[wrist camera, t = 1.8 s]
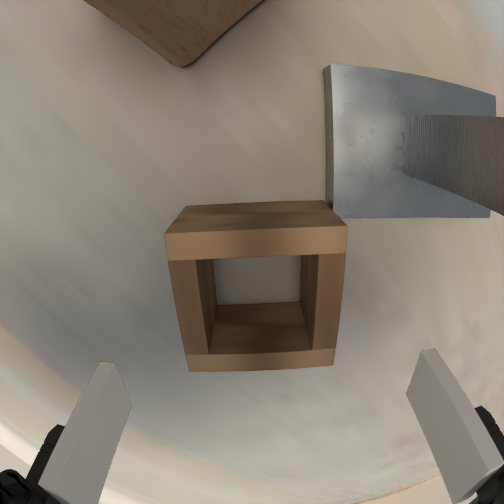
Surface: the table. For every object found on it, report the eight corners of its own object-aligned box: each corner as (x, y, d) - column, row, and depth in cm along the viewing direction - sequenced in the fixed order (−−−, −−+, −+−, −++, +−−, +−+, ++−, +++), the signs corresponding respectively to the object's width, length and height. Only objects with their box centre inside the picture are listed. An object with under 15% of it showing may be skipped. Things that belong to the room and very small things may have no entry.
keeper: (325, 210, 22) (408, 310, 9) (323, 69, 18) (417, 1, 6) (475, 211, 21) (585, 275, 9) (480, 96, 18) (604, 104, 6)
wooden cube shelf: (200, 321, 25) (189, 371, 19) (185, 206, 21) (163, 234, 16) (317, 316, 25) (333, 365, 19) (322, 200, 21) (347, 226, 16)
